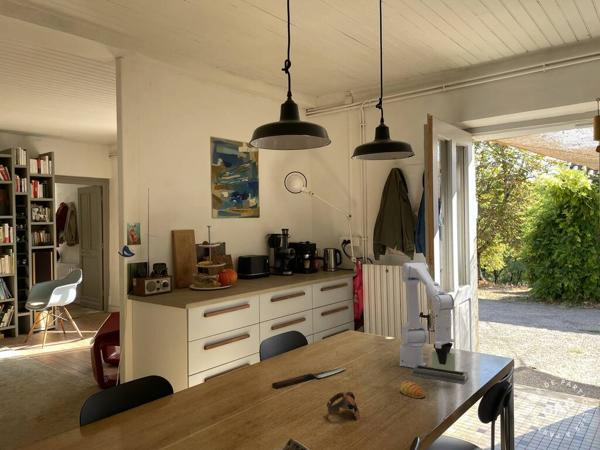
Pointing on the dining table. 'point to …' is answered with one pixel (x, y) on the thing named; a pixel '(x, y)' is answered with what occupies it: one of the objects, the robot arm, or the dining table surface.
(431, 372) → the door track
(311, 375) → the kitchen knife
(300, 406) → the dining table surface
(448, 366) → the door panel
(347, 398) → the brown openwork sculpture
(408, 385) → the pastry
